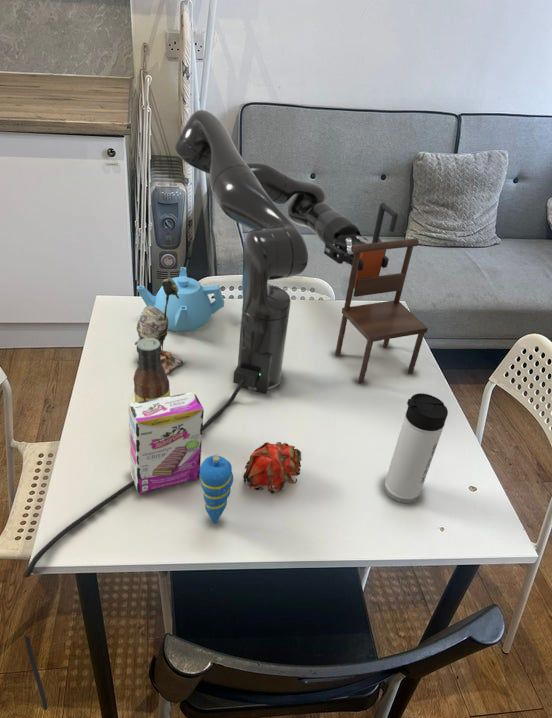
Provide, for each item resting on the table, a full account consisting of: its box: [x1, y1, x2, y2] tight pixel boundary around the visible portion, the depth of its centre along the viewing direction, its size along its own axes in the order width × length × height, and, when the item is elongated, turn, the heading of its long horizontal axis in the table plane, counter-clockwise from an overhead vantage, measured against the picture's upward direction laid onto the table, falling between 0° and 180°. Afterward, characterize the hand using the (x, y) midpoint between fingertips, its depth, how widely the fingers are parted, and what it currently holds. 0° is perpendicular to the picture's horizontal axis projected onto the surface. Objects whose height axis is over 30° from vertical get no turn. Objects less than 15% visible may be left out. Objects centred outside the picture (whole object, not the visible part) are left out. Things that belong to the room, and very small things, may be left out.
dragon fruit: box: [242, 441, 303, 495], centre depth 109 cm, size 8×8×12 cm
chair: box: [334, 237, 429, 385], centre depth 134 cm, size 12×15×27 cm
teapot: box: [136, 266, 225, 333], centre depth 147 cm, size 15×15×11 cm
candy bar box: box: [128, 391, 205, 495], centre depth 105 cm, size 11×5×16 cm, turn 114°
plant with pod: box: [133, 277, 185, 374], centre depth 130 cm, size 8×11×20 cm
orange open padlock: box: [348, 202, 399, 290], centre depth 133 cm, size 8×6×19 cm
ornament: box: [199, 455, 234, 524], centre depth 99 cm, size 5×5×15 cm
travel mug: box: [383, 392, 449, 504], centre depth 106 cm, size 6×7×20 cm
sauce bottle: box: [133, 338, 171, 403], centre depth 113 cm, size 7×6×20 cm
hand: (373, 265), depth 135 cm, fingers closed on orange open padlock, 5 cm apart
